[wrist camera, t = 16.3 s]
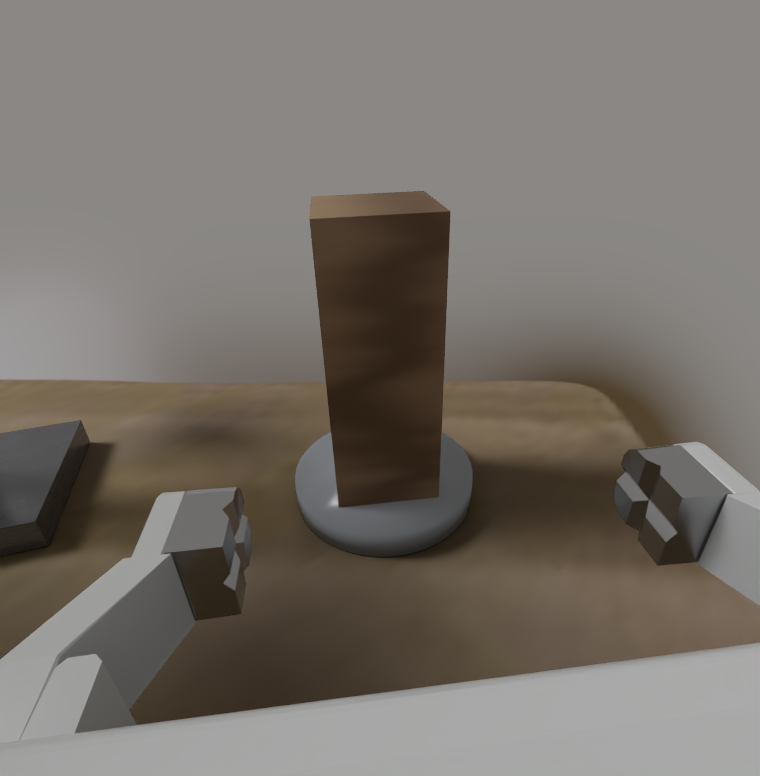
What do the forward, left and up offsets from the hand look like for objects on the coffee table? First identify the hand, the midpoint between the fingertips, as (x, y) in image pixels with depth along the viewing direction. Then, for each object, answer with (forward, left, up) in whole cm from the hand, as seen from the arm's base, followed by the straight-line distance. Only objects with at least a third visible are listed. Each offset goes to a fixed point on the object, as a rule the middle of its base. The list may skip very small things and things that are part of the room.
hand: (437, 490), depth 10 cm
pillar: (+2, +10, -8) cm, 13 cm away
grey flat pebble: (+2, +10, -9) cm, 14 cm away
